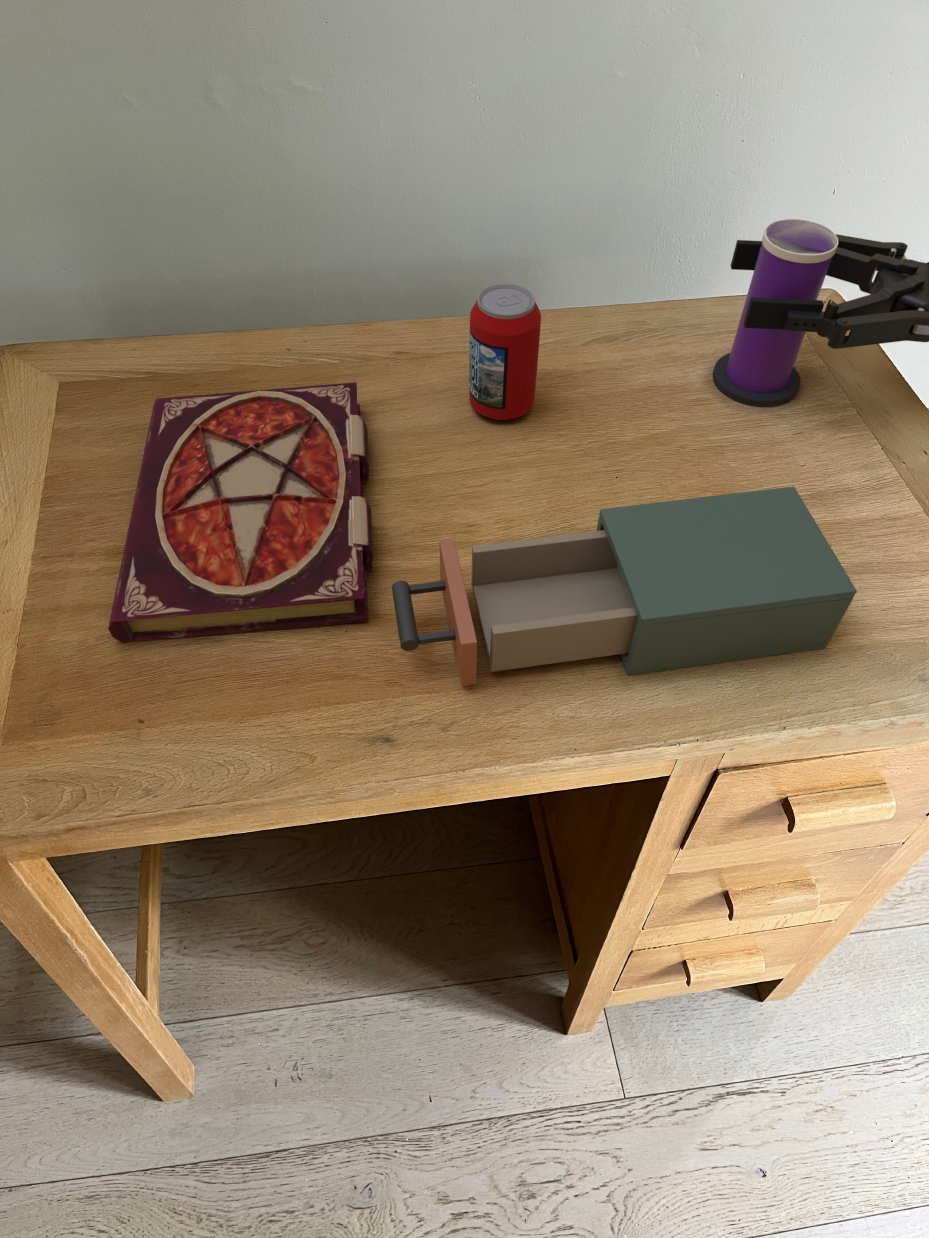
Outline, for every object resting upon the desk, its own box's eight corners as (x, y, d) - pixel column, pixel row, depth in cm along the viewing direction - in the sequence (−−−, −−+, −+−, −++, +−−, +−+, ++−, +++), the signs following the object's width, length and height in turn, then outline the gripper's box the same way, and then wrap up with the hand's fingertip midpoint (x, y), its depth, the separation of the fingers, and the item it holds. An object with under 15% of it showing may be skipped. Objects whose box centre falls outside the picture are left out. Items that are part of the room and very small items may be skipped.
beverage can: (459, 393, 90) (458, 287, 80) (517, 379, 91) (524, 274, 82) (483, 432, 86) (486, 325, 77) (544, 416, 88) (555, 310, 78)
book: (160, 425, 87) (145, 383, 83) (367, 408, 88) (362, 367, 84) (118, 647, 70) (96, 608, 66) (377, 623, 71) (371, 583, 67)
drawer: (406, 693, 65) (402, 652, 61) (390, 591, 72) (386, 547, 67) (655, 659, 67) (668, 616, 63) (618, 562, 74) (627, 518, 70)
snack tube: (801, 387, 90) (852, 249, 78) (743, 398, 88) (786, 259, 77) (770, 351, 94) (814, 215, 82) (714, 361, 92) (751, 224, 81)
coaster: (810, 374, 92) (813, 368, 92) (779, 417, 88) (781, 411, 87) (732, 346, 95) (734, 340, 95) (698, 387, 91) (700, 380, 90)
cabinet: (627, 675, 67) (642, 619, 62) (589, 567, 75) (600, 508, 69) (825, 648, 69) (857, 591, 64) (770, 545, 76) (794, 486, 71)
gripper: (992, 397, 78) (745, 385, 79) (928, 269, 92) (718, 259, 93) (1036, 324, 72) (768, 311, 73) (960, 198, 86) (736, 189, 87)
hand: (740, 282), depth 83 cm, fingers open, 10 cm apart
